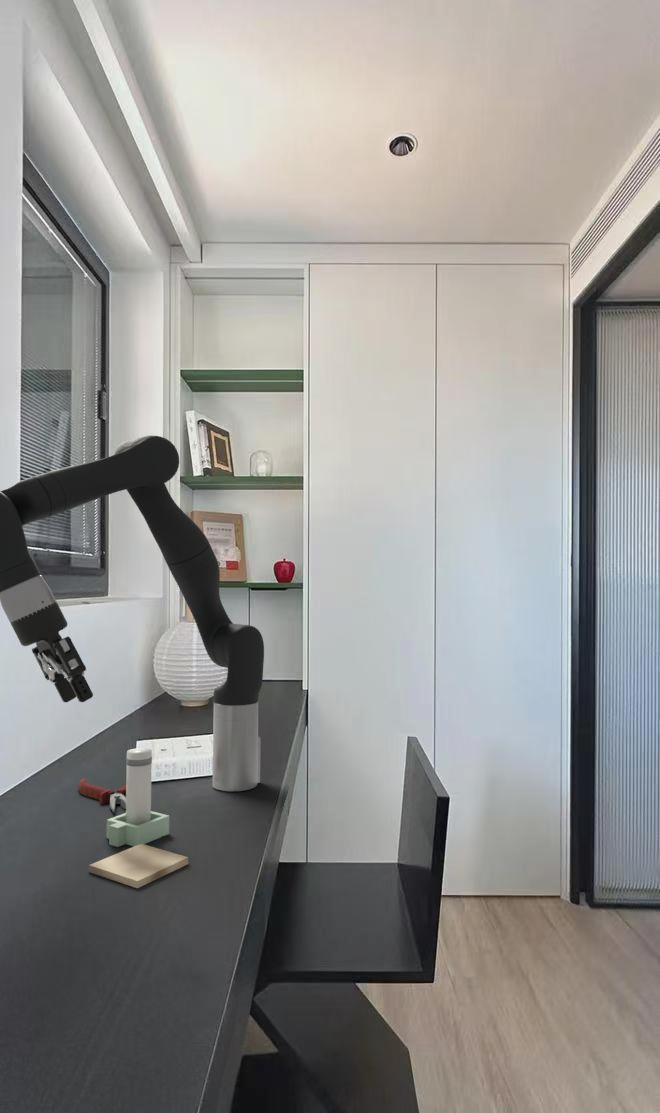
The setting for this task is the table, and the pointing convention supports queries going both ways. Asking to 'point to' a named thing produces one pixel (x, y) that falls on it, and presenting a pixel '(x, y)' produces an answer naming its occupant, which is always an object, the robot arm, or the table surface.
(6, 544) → the robot arm
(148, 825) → the collar
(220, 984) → the table surface
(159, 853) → the oak pad
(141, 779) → the thermos bottle
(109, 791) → the pliers
